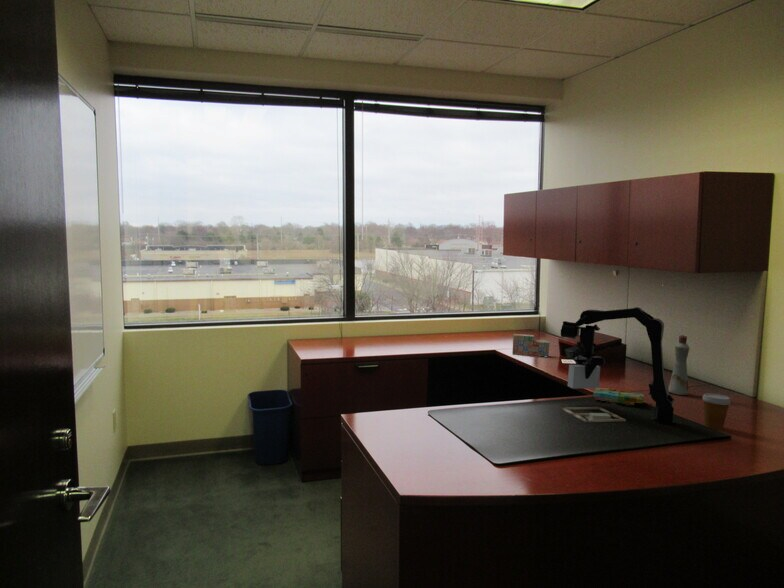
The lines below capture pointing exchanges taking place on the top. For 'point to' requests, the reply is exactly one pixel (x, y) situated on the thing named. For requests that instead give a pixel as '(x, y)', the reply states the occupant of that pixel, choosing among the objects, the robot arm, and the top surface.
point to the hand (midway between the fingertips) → (583, 377)
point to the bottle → (680, 369)
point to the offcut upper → (599, 416)
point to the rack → (588, 414)
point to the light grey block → (582, 377)
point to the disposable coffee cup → (715, 410)
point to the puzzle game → (618, 396)
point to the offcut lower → (590, 418)
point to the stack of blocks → (529, 346)
